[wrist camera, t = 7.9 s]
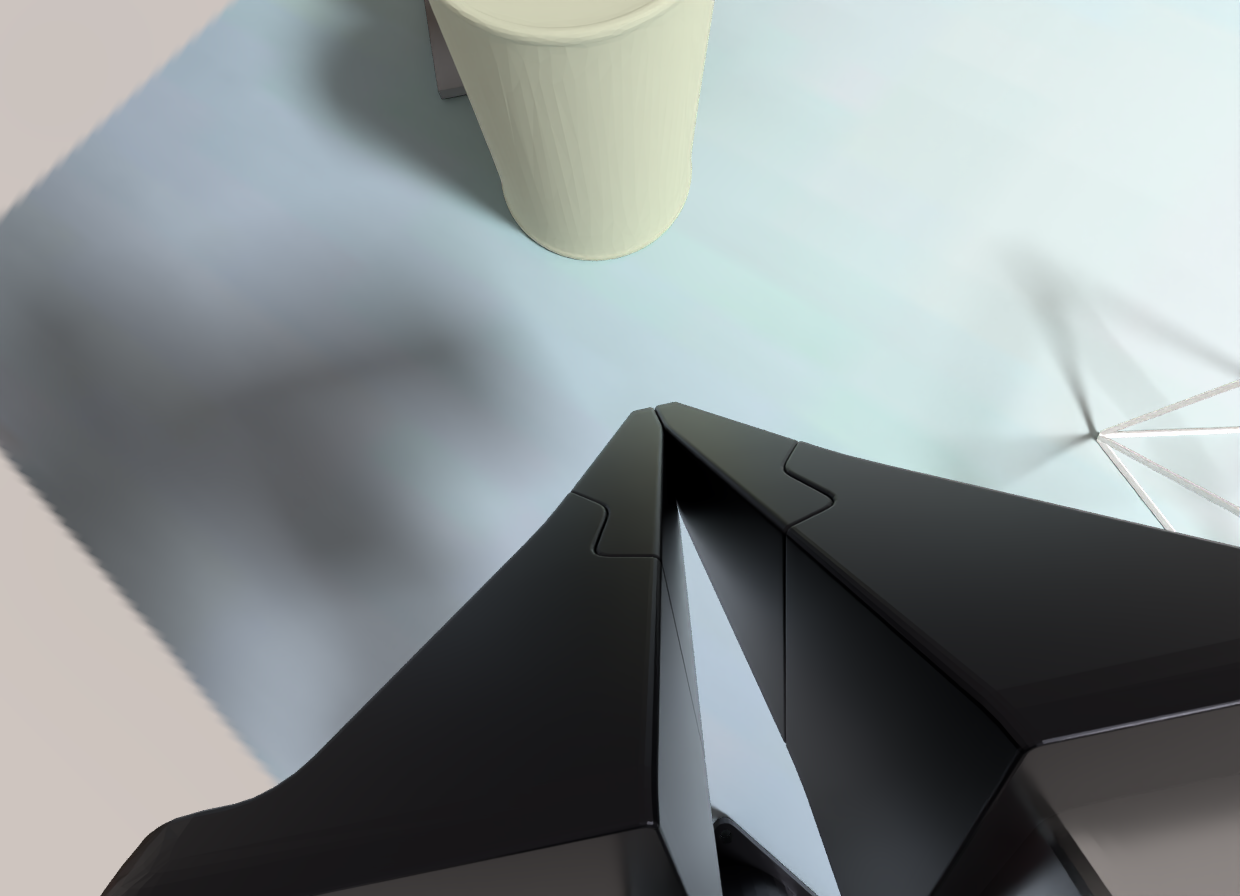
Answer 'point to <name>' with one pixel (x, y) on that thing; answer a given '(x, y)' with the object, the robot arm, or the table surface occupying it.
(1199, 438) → the table surface
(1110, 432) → the geometric polyhedron
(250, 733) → the table surface
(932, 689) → the robot arm
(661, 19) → the can
